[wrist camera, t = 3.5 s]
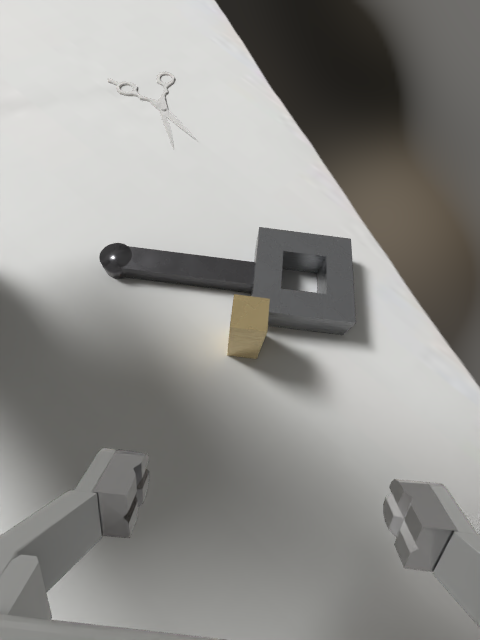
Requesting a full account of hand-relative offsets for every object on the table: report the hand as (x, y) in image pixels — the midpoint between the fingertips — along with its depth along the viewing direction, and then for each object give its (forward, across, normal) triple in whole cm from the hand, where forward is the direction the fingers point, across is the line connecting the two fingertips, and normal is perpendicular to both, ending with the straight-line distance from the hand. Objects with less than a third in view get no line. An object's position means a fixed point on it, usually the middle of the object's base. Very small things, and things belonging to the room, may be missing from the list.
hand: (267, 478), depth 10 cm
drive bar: (+23, +1, +6) cm, 24 cm away
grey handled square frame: (+28, +4, +1) cm, 29 cm away
